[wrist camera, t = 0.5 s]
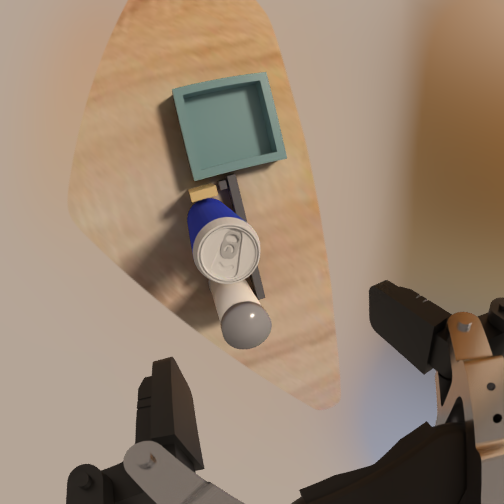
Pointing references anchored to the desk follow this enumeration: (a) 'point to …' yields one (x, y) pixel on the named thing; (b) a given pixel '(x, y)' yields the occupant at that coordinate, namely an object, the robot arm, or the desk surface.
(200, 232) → the beverage can
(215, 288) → the fuse
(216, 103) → the tray
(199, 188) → the fuse block
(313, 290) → the desk surface
